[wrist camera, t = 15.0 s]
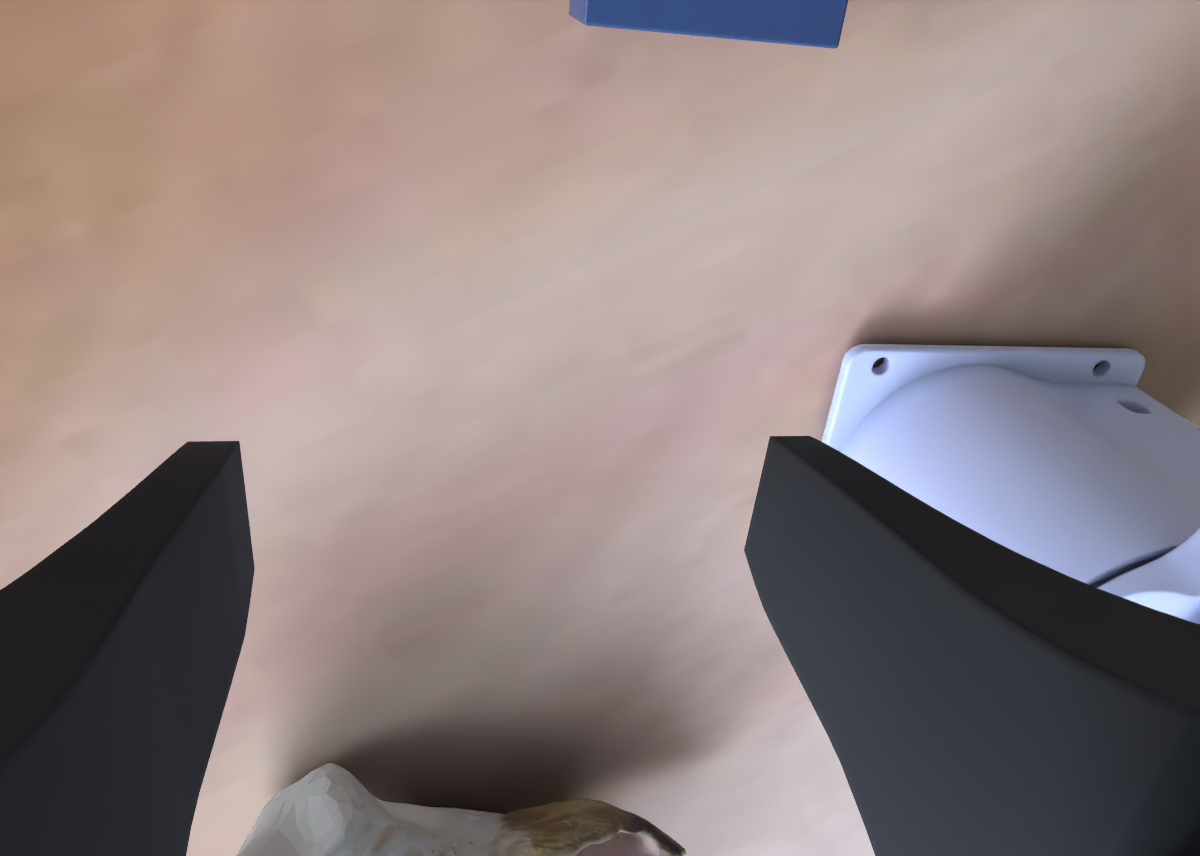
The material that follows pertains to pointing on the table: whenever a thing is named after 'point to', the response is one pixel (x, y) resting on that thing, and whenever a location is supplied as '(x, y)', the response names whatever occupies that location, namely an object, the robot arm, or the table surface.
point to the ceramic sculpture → (439, 826)
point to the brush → (723, 18)
